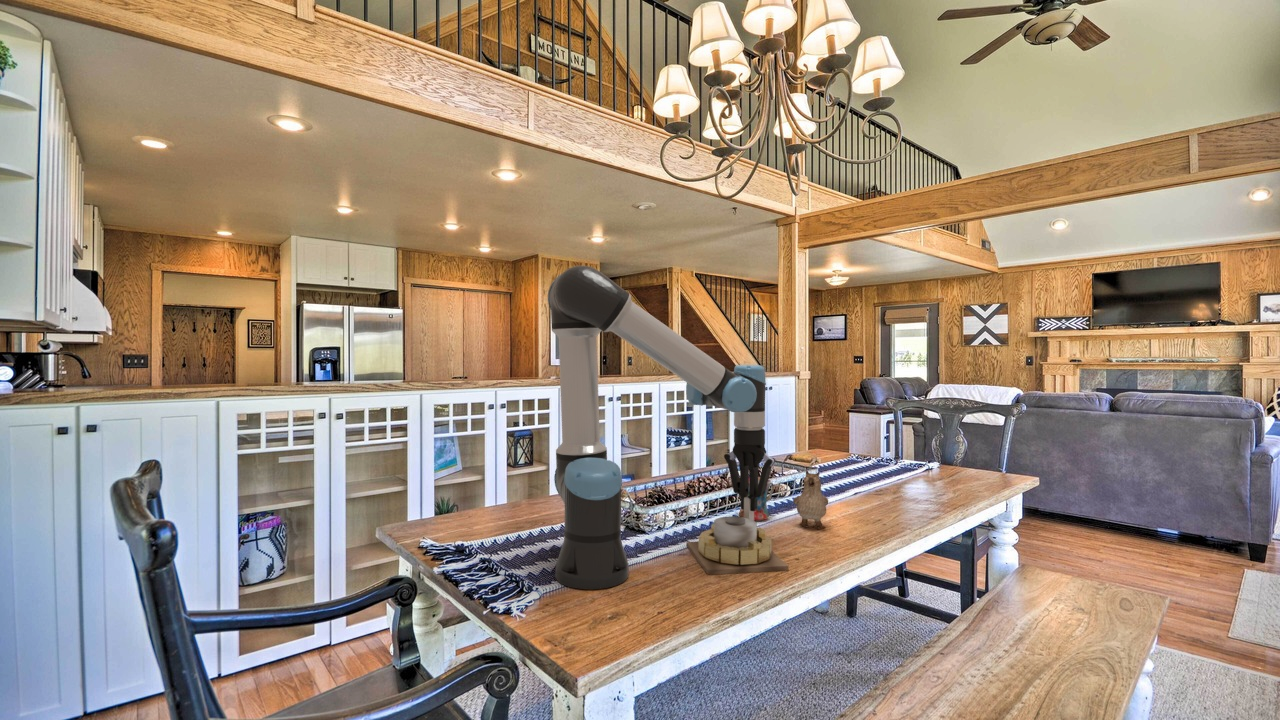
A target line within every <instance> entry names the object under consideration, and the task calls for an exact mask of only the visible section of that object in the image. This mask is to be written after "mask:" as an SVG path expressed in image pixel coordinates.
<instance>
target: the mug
mask: <svg viewBox="0 0 1280 720" xmlns="http://www.w3.org/2000/svg"><path fill="white" fill-rule="evenodd" d="M759 480H760V476H758V484H759ZM770 487H771V490H770ZM769 490H770V493H769V494H768V492H769ZM774 490H775V485H774V484H773V483H772V480H771V479H768V483H767V487H766V491H765V494H764V495H762V496H760V497H757V510H756V511H754V521H755V522H756V521H757V522H758V521H764V520H766V519H767V520H768V518H770V513H769V510H768V506H767V502H768V500H769V499H770V498H771V497H772V495H773V493H774ZM748 496H749V494H748ZM740 510H741V508H740V509H739V512H740ZM739 512H738V513H739Z"/></svg>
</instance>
